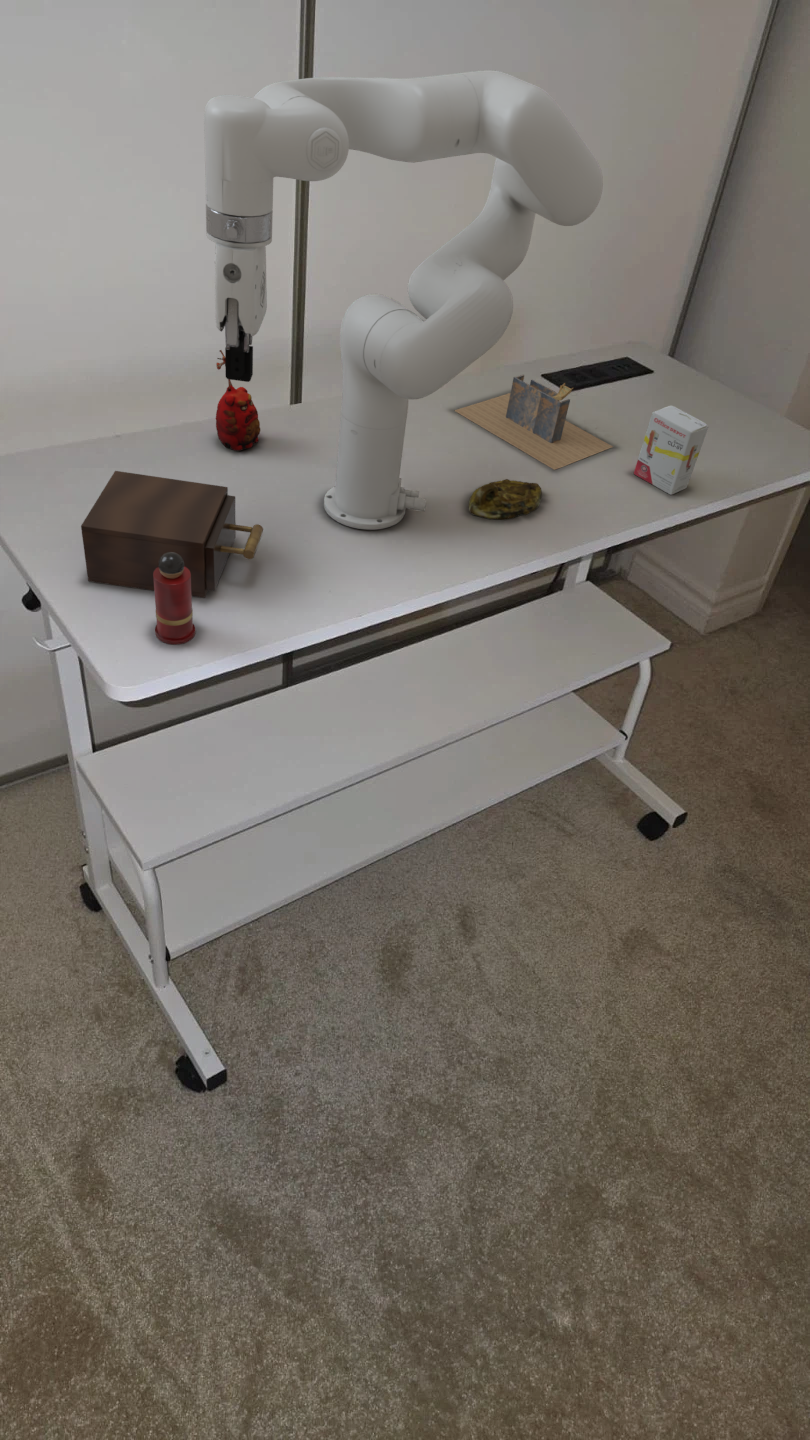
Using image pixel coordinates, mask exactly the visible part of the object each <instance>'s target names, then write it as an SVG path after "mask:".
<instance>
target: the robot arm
mask: <svg viewBox="0 0 810 1440" xmlns="http://www.w3.org/2000/svg"><path fill="white" fill-rule="evenodd" d="M203 111H204V113H203V128H204V129H203V131H204V132H203V133H204V134H203V135H204V178H205V180H204V181H205V230H206V231H205V232H206V237H207V239H208V240H210V241H211V242H213V243H215V249H214V251H215V252H214V253H215V254H214V314H215V316H214V317H215V326H216V328H217V330H218V331H219V332H223V331H224V335H225V337H224V339H225V348H224V351H225V352H224V353H225V354H224V356H225V364H224V367H225V378H226V379H227V380H228V379H230V381H238V382H246V383H250V382H251V380H252V378H253V375H254V370H253V369H254V346H253V337H254V336H255V335H257V334H258V332H259V330H260V328H261V326H262V323H263V321H264V319H265V316H266V313H267V307H268V299H267V296H268V295H267V292H268V291H267V247H266V246H268V245H270V244H271V243H272V242H273V217H274V216H273V212H274V211H273V210H274V178H278V177H279V178H286V179H292V180H298V181H304V182H320V181H321V182H322V181H324V180H328V179H330V178H332V177H333V176H335V175H336V174H337V173H338V172H339V171H341V170H342V168H343V167H344V165H345V163H346V161H347V159H348V155H349V150H350V151H351V150H352V151H356V152H357V151H358V152H363V153H367V154H370V155H373V156H377V157H379V158H383V159H386V160H390V161H397V162H404V163H414V164H415V163H422V162H427V161H433V160H434V161H435V160H441V159H448V158H452V157H453V158H454V157H460V156H468V155H474V154H488V155H490V156H493V157H494V158H495V160H494V164H493V171H492V177H491V183H490V188H489V192H488V195H487V199H486V201H485V203H484V206H483V208H482V210H481V211H480V213H479V214H478V215H477V216H476V217H475V219H473V220H472V221H471V222H470V223H469V224H468V225H466V226H465V228H463V229H462V230H461V231H460V232H458V233H457V234H455V235H454V236H453V237H451V238H450V239H449V240H448V241H447V242H445V243H444V244H443V245H441V246H440V247H439V248H438V249H437V250H435V251H434V252H432V253H431V254H430V255H429V256H428V257H425V259H424V260H423V261H422V262H421V263H420V264H419V265H417V266H416V267H415V269H414V270H413V271H412V273H411V274H410V276H409V279H408V282H407V295H408V300H409V301H410V303H411V306H412V307H413V308H414V309H415V310H416V312H418V314H420V316H422V317H423V318H424V319H425V320H423V319H422V318H421V317H419V316H418V315H417V314H416V313H414V312H413V311H412V310H411V309H409V308H407V307H406V306H405V305H404V304H402V303H401V302H399V301H397V300H396V299H394V298H393V297H390V296H388V295H384V294H381V293H369V294H364V295H362V296H359V297H358V298H357V299H355V300H354V301H353V302H352V303H351V304H350V305H348V307H347V309H346V310H345V313H344V315H343V317H342V320H341V324H340V331H339V349H340V358H341V373H342V374H341V375H342V384H341V385H342V389H341V390H342V391H341V407H340V417H339V431H338V443H337V444H338V445H337V459H336V469H335V470H336V473H335V485H334V486H332V487H330V488H329V489H328V490H327V491H326V493H325V495H324V498H323V508H324V511H325V512H326V513H327V514H328V516H329V517H330V518H331V519H333V520H334V521H335V522H336V523H339V524H341V525H343V526H347V527H349V528H354V529H358V530H366V531H367V530H373V531H374V530H375V531H376V530H383V529H387V528H390V527H394V526H395V525H397V524H398V523H400V522H401V521H402V520H403V518H404V517H405V514H406V509H408V510H413V511H419V512H425V510H426V505H427V504H426V503H427V498H423V497H419V496H420V490H414V489H411V490H410V489H405V487H403V486H402V477H400V475H401V466H402V458H403V450H404V442H405V435H406V428H407V427H406V426H407V420H408V413H409V412H408V411H409V400H421V399H423V398H426V397H428V396H430V395H432V394H433V393H435V392H437V391H438V390H439V389H441V388H442V387H444V386H445V385H446V384H448V383H449V382H451V380H453V379H454V378H455V377H457V376H458V375H459V374H461V373H462V372H464V371H465V369H467V368H468V367H470V366H471V365H472V364H473V363H475V362H476V361H477V360H479V359H480V357H482V356H483V355H484V354H486V353H487V352H488V351H490V350H491V349H492V348H493V347H494V346H495V345H496V344H497V343H498V342H499V340H500V339H501V338H502V337H503V335H504V334H505V332H506V331H507V329H508V327H509V324H510V322H511V320H512V317H513V312H514V298H513V293H512V291H511V289H510V287H509V285H508V284H507V283H506V282H505V280H506V279H507V278H508V277H510V276H511V275H512V274H513V273H514V272H515V271H517V269H518V268H519V267H520V265H522V263H523V262H524V260H525V258H526V256H527V253H528V250H529V248H530V243H531V239H532V234H533V228H534V224H535V218H536V215H538V216H540V217H541V218H544V219H546V220H548V221H549V222H552V223H553V224H555V225H557V226H558V225H559V226H562V227H573V226H577V225H579V224H581V223H583V222H584V221H586V220H587V219H588V218H589V217H591V215H592V214H593V213H594V212H595V211H596V209H597V207H598V205H599V204H600V200H601V198H602V194H603V187H604V178H603V173H602V167H601V166H600V164H599V163H600V162H599V161H598V159H597V157H596V156H595V154H594V153H593V151H592V150H591V148H590V147H589V146H588V145H587V143H586V141H585V140H584V139H583V137H582V136H581V134H580V133H579V132H578V130H577V128H576V127H575V126H574V125H573V123H572V121H571V120H570V118H569V117H568V116H567V114H566V113H565V112H564V110H563V109H562V107H561V106H560V104H558V102H557V101H556V100H555V98H554V97H553V96H552V95H551V94H550V93H548V91H546V90H545V89H544V88H542V87H541V86H538V85H536V84H534V83H531V82H529V81H527V80H525V79H522V78H519V77H518V76H515V75H512V74H510V73H507V72H504V71H501V70H496V69H495V70H493V69H483V70H475V71H474V70H473V71H464V72H457V73H447V74H439V75H438V74H437V75H431V76H430V75H429V76H421V77H408V78H407V77H406V78H395V77H355V76H354V77H353V76H351V77H350V76H317V77H306V78H305V77H304V78H298V79H289V80H282V81H276V82H272V83H270V84H267V85H265V86H264V87H263V88H261V89H260V90H259V91H258V92H257V93H255V95H254V96H253V97H251V96H246V95H240V94H220V95H216V96H214V97H211V98H210V99H209V100H208V101H207V102H206V104H205V107H204V110H203Z"/></svg>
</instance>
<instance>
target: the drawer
mask: <svg viewBox="0 0 810 1440" xmlns="http://www.w3.org/2000/svg"><path fill="white" fill-rule="evenodd" d="M236 523H237V522H236V496H235V495H229V494H228V495H227V496H226V499H225V501H224V503H223V506H222V508H221V510H220V513H219V515H218V517H217V518H216V520H215V522H214V525H213V527H212V529H211V532H210V534H209V536H208V539H207V541H206V543H205V575H206V590H208V591H210V592H216V590H217V588H218V587H217V586H218V583H219V582H220V578H221V576H222V574H223V571H224V568H225V566H226V564H227V561H228V559H229V555H230V554H235V555H241V556H243V557H244V558H245V559H246V560H252V559H254V557H255V555H256V552H257V549H258V546H259V544H260V541H261V538H262V535H263V532H264V527H263V526H262V525H261V524H259V523H256V524H253V525H252V526H248V525H240V524H236ZM237 532H244V533H249V536H248V538H247V541H246V544H245V546H244V548H241V547H240V548H239V547H234V543H235V540H236V534H237Z"/></svg>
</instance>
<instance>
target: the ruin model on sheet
mask: <svg viewBox="0 0 810 1440" xmlns="http://www.w3.org/2000/svg"><path fill="white" fill-rule="evenodd" d="M524 379H525V374H520V375H516V376H513V379H512V383H511V390H510V392H508V393H505V394H502V395H499V396H496V397H492V398H489V399H486V400H483V401H480V402H476V403H473V404H471V405H467V406H464V407H460V408H457V409H454V412H456V413H457V414H459V415H461V416H462V417H463V418H466V419H467V420H469V421H470V422H472V423H474V424H475V425H478V426H479V427H481V428H483V429H484V430H486V431H488V432H489V433H491V434H493V435H494V436H496V437H498V438H500V439H501V440H503V441H505V442H506V443H508V444H510V445H511V446H513V447H515V448H516V449H518V450H520V451H522V452H523V453H525V454H526V455H529V456H530V457H532V458H533V459H535V460H537V461H538V462H540V463H542V464H543V465H545V466H547V467H549V468H550V469H552V470H554V471H555V470H558V469H561V468H563V467H566V466H568V465H571V464H574V463H576V462H578V461H579V462H580V461H581V460H583V459H586V458H589V457H591V456H594V455H596V454H599V453H602V452H604V451H606V450H609V449H612V448H614V445H612V444H609V443H607V442H606V441H604V440H602V439H600V438H599V437H597V436H595V435H593V434H591V433H589V432H588V431H586V430H584V429H582V428H580V427H578V426H577V425H575V424H573V423H572V422H570V421H567V419H566V418H567V416H568V415H567V414H568V410H569V406H570V403H571V399H570V398H567V396H569V395H570V394H571V393H572V390H574V387H571V388H570V387H569V386H567V385H566V382H564V383H563V384H562V385H560V386H559V389H558V392H557V391H555V390H553V389H551V388H550V387H548V386H546V385H544V384H542V383H540V382H538V381H536V380H535V379H533V378H531V379H530V383H529V384H528V383H527V382H525V381H524ZM565 398H567V399H565Z"/></svg>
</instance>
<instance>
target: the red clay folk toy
mask: <svg viewBox="0 0 810 1440" xmlns="http://www.w3.org/2000/svg"><path fill="white" fill-rule="evenodd" d="M218 352H219V353H220V354H221V355H222V357H217V360H220V361H221V360H222V362H216V363H215V364H216V369H217V370H221V369H222V366H225V354H224V352H223V351H222V349H220V350H219V351H218ZM227 381H228V386H227V387H226V390H225V392H224V394H223V395H222V396H221V398H220V399H219V401H218V403H217V407H216V412H215V429H216V433H217V437H218V440H219V441H220V442H221V444H222V445H223V446H224V447H225V448H228V449H231V450H232V451H234V452H235V451H237V452H240V451H242V450H248V449H251V448H252V447H253V445H254V444H257V443H258V442H259V441H260V440H259V436H260V434H261V427H260V426H261V422H260V419H259V412H258V409H257V407H256V406H255V404H254V401H253V399H252V395H251V393H248V392H249V391H248V389H246V388H245V387H244V386H239V387H237V388H235V386H233V383H232V380H230V379H227Z"/></svg>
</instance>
